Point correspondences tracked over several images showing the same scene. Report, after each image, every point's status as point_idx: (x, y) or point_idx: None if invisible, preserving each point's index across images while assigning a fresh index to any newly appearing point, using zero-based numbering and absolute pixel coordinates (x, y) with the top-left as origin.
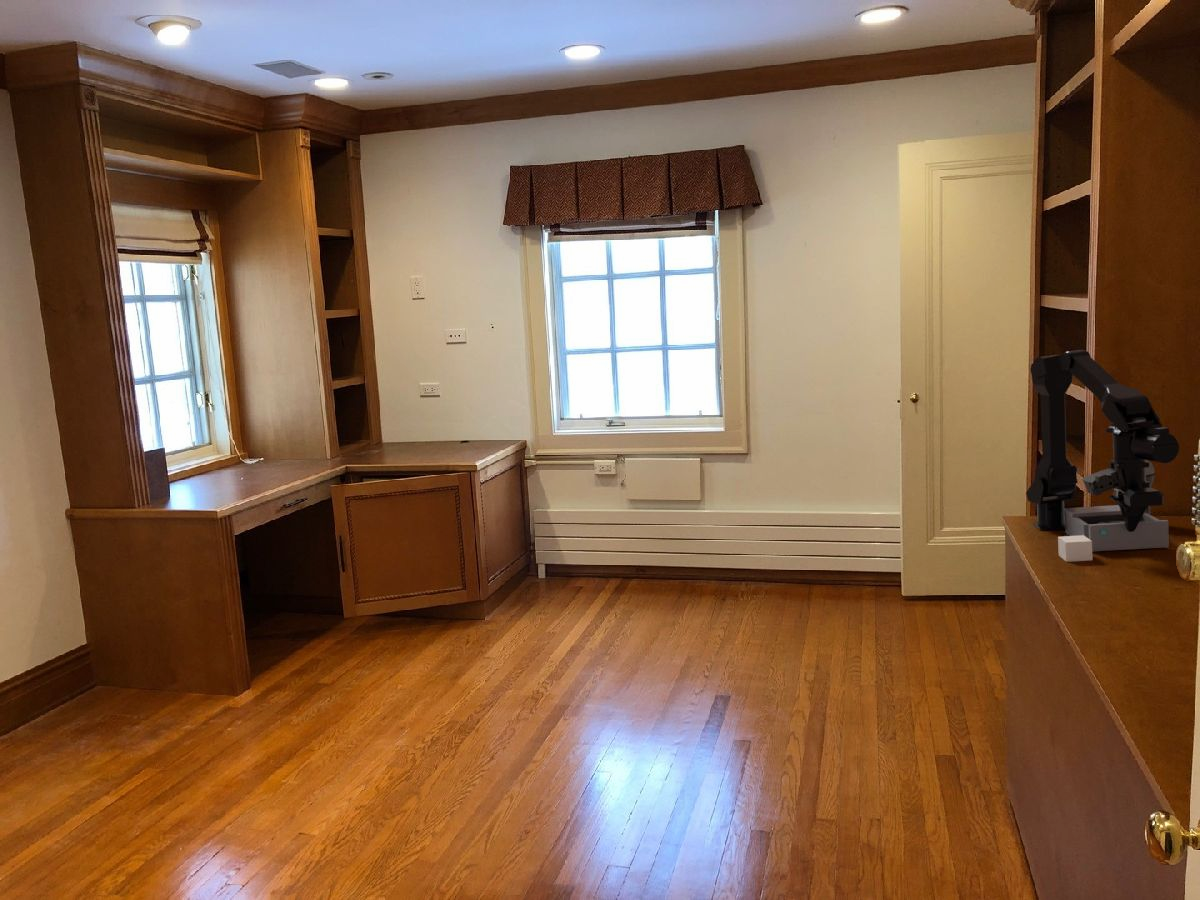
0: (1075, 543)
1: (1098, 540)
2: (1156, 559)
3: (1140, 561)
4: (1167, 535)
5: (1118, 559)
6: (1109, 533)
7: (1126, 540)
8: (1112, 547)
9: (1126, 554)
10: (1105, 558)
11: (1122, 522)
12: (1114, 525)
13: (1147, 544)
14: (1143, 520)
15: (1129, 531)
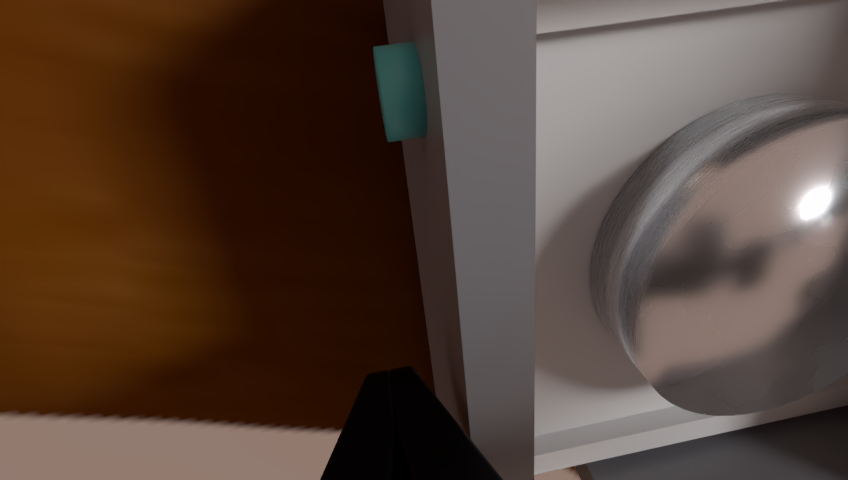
0: None
1: (393, 5)
2: (163, 379)
3: (78, 285)
4: None
5: (118, 134)
6: (425, 169)
7: (428, 286)
8: (403, 145)
9: (307, 222)
10: (141, 19)
11: (832, 343)
12: (452, 283)
13: (436, 385)
14: (825, 458)
15: (370, 378)
